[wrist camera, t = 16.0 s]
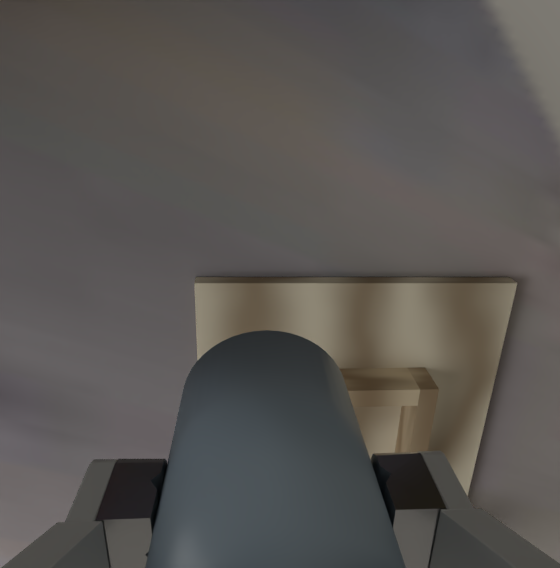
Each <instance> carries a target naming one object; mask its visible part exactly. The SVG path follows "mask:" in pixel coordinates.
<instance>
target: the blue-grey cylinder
mask: <svg viewBox="0 0 560 568" xmlns="http://www.w3.org/2000/svg"><path fill="white" fill-rule="evenodd" d="M145 568H406V566H405V563H404V560H403V557H402V554H401V551H400V548H399V545H398V542H397V539H396V536H395V533H394V530H393V527H392V524H391V521H390V518H389V515H388V512H387V509H386V506H385V503H384V500H383V497H382V493H381V490H380V487H379V484H378V481H377V478H376V475H375V472H374V469H373V466H372V463H371V460H370V457H369V454H368V451H367V448H366V445H365V442H364V439H363V436H362V433H361V430H360V427H359V423H358V420H357V417H356V414H355V411H354V408H353V405H352V402H351V399H350V396H349V393H348V390H347V387H346V384H345V381H344V378H343V375H342V373H341V371H340V369H339V367H338V366H337V364H336V363H335V361H334V360H333V359H332V358H331V356H330V355H329V354H328V353H327V352H326V351H324V350H323V349H322V348H321V347H319V346H318V345H316V344H315V343H313V342H311V341H310V340H308V339H305V338H303V337H301V336H298V335H295V334H291V333H287V332H282V331H271V330H263V331H252V332H247V333H242V334H239V335H236V336H233V337H230V338H228V339H226V340H224V341H222V342H220V343H218V344H217V345H215V346H214V347H212V348H211V349H210V350H208V351H207V352H206V353H205V354H204V355H203V356H202V357H201V358H200V359H199V360H198V361H197V362H196V364H195V365H194V366H193V368H192V369H191V371H190V373H189V375H188V377H187V379H186V382H185V385H184V389H183V394H182V398H181V403H180V408H179V412H178V417H177V422H176V426H175V431H174V436H173V440H172V445H171V450H170V454H169V459H168V464H167V468H166V473H165V478H164V482H163V487H162V492H161V496H160V501H159V506H158V510H157V515H156V520H155V524H154V529H153V534H152V538H151V543H150V548H149V552H148V557H147V562H146V566H145Z"/></svg>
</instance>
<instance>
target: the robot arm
mask: <svg viewBox="0 0 560 568" xmlns="http://www.w3.org/2000/svg"><path fill="white" fill-rule="evenodd" d="M371 463H372V466H373V469H374V472H375V475H376V478H377V481H378V484H379V487H380V490H381V493H382V497H383V500H384V503H385V506H386V509H387V512H388V515H389V518H390V521H391V524H392V527H393V530H394V533H395V536H396V539H397V542H398V545H399V548H400V551H401V554H402V557H403V560H404V563H405V566H406V568H560V564H559V563H558V562H556V561H555V560H554V559H552V558H551V557H549V556H548V555H547V554H545V553H544V552H542V551H541V550H539V549H538V548H537V547H535V546H534V545H532V544H531V543H529V542H528V541H527V540H525V539H524V538H522V537H521V536H520V535H518V534H517V533H515V532H514V531H512V530H511V529H510V528H508V527H507V526H505V525H504V524H502V523H501V522H500V521H498V520H497V519H495V518H494V517H493V516H491V515H490V514H488V513H487V512H485V511H484V510H483V509H481V508H477V509H474V507H473V505H472V504H471V502H470V500H469V498H468V496H467V494H466V493H465V491H464V489H463V487H462V485H461V484H460V482H459V480H458V478H457V476H456V474H455V473H454V471H453V469H452V467H451V465H450V463H449V462H448V460H447V458H446V456H445V454H444V453H443V452H441V451H418V452H400V453H373V454H372V457H371ZM166 468H167V461H166V459H118V460H117V459H94V460H93V461H92V462H91V463H90V465H89V467H88V469H87V471H86V474H85V476H84V478H83V481H82V483H81V485H80V488H79V490H78V492H77V495H76V497H75V500H74V502H73V504H72V507H71V509H70V511H69V514H68V516H67V518H66V521H65V522H60V523H56V524H55V525H54V526H52V527H51V528H50V529H49V530H48V531H46V532H45V533H44V534H43V535H41V536H40V537H39V538H38V539H36V540H35V541H34V542H33V543H31V544H30V545H29V546H28V547H26V548H25V549H24V550H23V551H22V552H20V553H19V554H18V555H17V556H15V557H14V558H13V559H12V560H10V561H9V562H8V563H7V564H5V565H4V566H3V567H2V568H145V566H146V562H147V557H148V552H149V548H150V543H151V538H152V534H153V529H154V524H155V520H156V515H157V510H158V506H159V501H160V496H161V492H162V487H163V482H164V478H165V473H166Z"/></svg>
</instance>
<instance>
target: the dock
mask: <svg viewBox="0 0 560 568" xmlns="http://www.w3.org/2000/svg"><path fill="white" fill-rule="evenodd" d="M516 287H517V283H516V282H515V281H514V280H512V279H511V278H510V277H196V279H195V308H196V333H197V359H198V360H199V359H200V358H201V357H202V356H203V355H204V354H205V353H206V352H207V351H208V350H210V349H211V348H212V347H214V346H215V345H217V344H218V343H220V342H222V341H224V340H226V339H228V338H230V337H233V336H236V335H239V334H242V333H247V332H252V331H263V330H271V331H282V332H287V333H291V334H295V335H298V336H301V337H303V338H305V339H308V340H310V341H311V342H313V343H315V344H316V345H318V346H319V347H321V348H322V349H323V350H324V351H326V352H327V353H328V354H329V355H330V356H331V358H332V359H333V360H334V361H335V363H336V364H337V366H338V367H339V369H340V371H341V373H342V375H343V378H344V381H345V384H346V387H347V390H348V393H349V396H350V399H351V402H352V405H353V408H354V411H355V414H356V417H357V420H358V423H359V427H360V430H361V433H362V436H363V439H364V442H365V445H366V448H367V451H368V454H369V457H370V460H371V457H372V454H373V453H400V452H418V451H441V452H443V453H444V454H445V456H446V458H447V460H448V462H449V463H450V465H451V467H452V469H453V471H454V473H455V474H456V476H457V478H458V480H459V482H460V484H461V485H462V487H463V489H464V491H465V493H466V494H467V496H468V492H469V488H470V483H471V479H472V475H473V471H474V466H475V462H476V458H477V454H478V449H479V445H480V441H481V437H482V432H483V428H484V424H485V420H486V415H487V411H488V407H489V402H490V398H491V394H492V390H493V385H494V381H495V377H496V373H497V368H498V364H499V360H500V356H501V351H502V347H503V343H504V339H505V334H506V330H507V326H508V321H509V317H510V313H511V309H512V304H513V300H514V296H515V292H516Z"/></svg>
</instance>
